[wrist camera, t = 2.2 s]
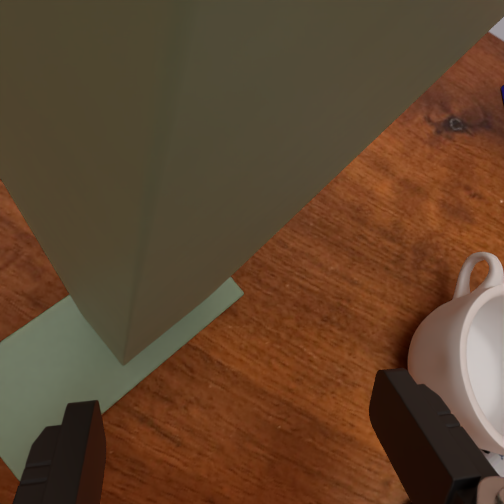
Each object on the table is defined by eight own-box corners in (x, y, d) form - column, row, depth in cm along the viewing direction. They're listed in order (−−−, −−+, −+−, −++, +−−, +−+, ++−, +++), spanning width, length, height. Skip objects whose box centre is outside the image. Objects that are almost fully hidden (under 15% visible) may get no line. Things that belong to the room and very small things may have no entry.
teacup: (509, 447, 24) (610, 464, 19) (389, 445, 22) (468, 463, 17) (488, 275, 27) (571, 251, 22) (381, 259, 25) (445, 229, 20)
